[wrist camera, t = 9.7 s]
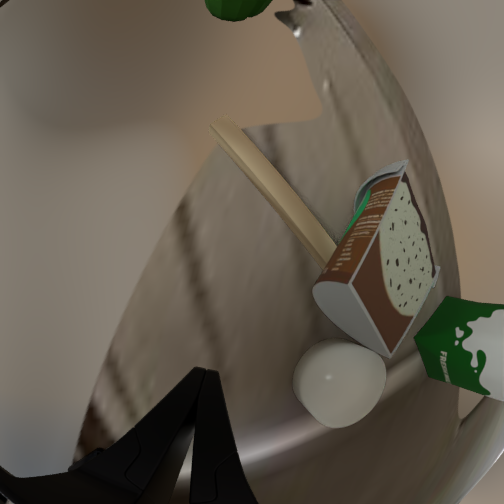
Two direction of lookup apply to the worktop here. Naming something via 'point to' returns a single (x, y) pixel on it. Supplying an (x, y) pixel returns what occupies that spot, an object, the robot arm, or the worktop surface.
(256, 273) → the worktop surface
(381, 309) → the food container
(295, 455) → the worktop surface
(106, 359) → the worktop surface
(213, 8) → the bell pepper
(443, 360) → the milk carton
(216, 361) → the worktop surface
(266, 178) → the oak strip
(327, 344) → the white domed puck
